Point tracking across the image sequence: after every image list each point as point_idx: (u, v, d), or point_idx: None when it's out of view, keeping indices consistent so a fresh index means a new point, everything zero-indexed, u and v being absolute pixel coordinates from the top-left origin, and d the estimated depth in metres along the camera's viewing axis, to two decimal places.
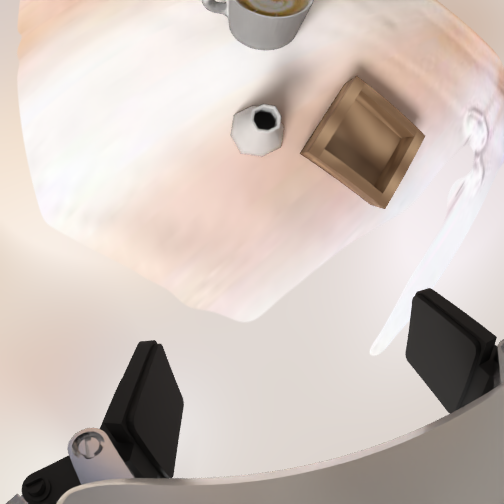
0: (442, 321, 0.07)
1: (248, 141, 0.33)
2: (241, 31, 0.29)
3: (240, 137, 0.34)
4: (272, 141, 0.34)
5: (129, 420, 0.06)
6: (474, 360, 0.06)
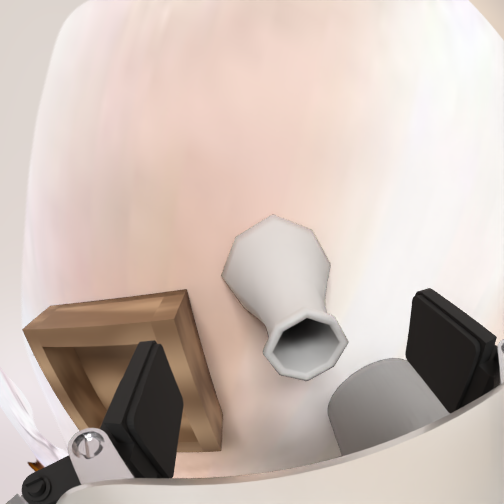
0: (442, 321, 0.07)
1: (284, 249, 0.16)
2: (406, 384, 0.19)
3: (300, 243, 0.17)
4: (243, 280, 0.17)
5: (129, 420, 0.06)
6: (474, 360, 0.06)
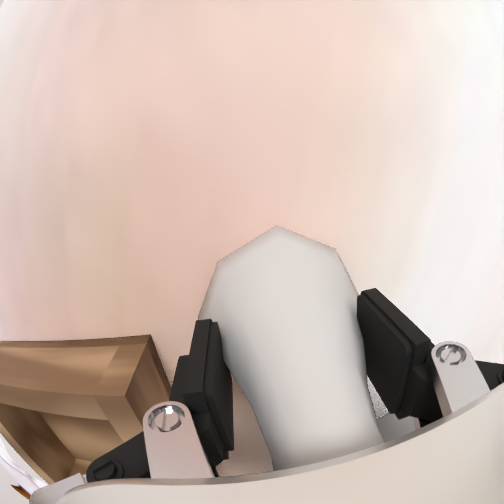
0: (379, 321, 0.08)
1: (299, 295, 0.09)
2: None
3: (324, 277, 0.10)
4: (229, 340, 0.10)
5: (207, 389, 0.07)
6: (406, 361, 0.07)
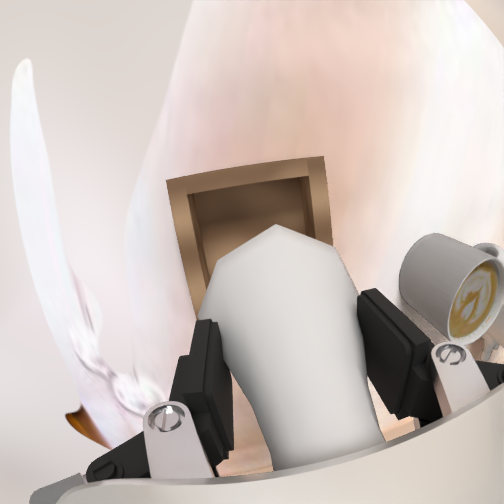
0: (379, 321, 0.08)
1: (300, 293, 0.09)
2: (456, 241, 0.26)
3: (323, 275, 0.10)
4: (229, 339, 0.10)
5: (207, 389, 0.07)
6: (406, 361, 0.07)
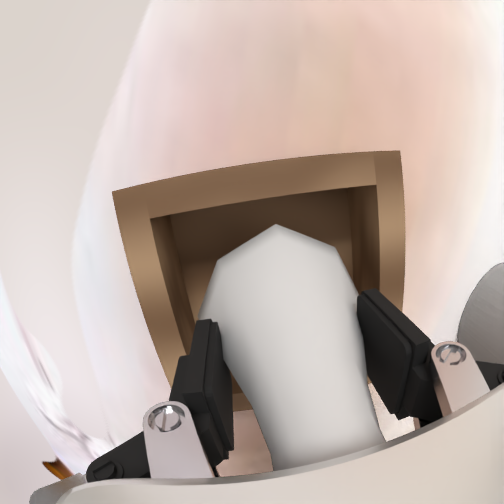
0: (379, 321, 0.08)
1: (300, 293, 0.09)
2: None
3: (323, 275, 0.10)
4: (229, 339, 0.10)
5: (207, 389, 0.07)
6: (406, 361, 0.07)
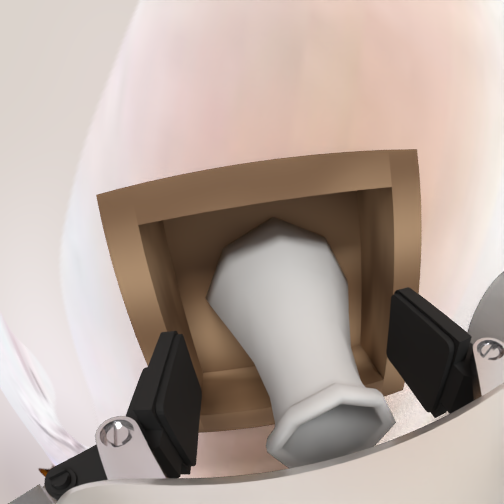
0: (418, 320, 0.08)
1: (292, 270, 0.11)
2: None
3: (313, 258, 0.12)
4: (234, 311, 0.12)
5: (158, 406, 0.06)
6: (448, 359, 0.06)
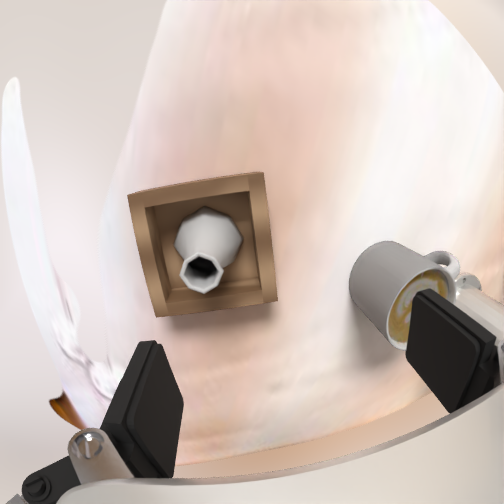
0: (442, 321, 0.07)
1: (204, 226, 0.27)
2: (404, 249, 0.30)
3: (217, 223, 0.28)
4: (182, 245, 0.28)
5: (129, 420, 0.06)
6: (474, 360, 0.06)
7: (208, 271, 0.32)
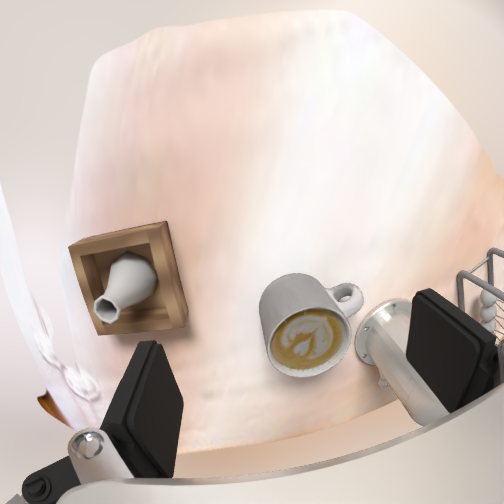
0: (442, 321, 0.07)
1: (119, 270, 0.32)
2: (302, 284, 0.35)
3: (132, 266, 0.34)
4: None
5: (129, 420, 0.06)
6: (474, 360, 0.06)
7: None
